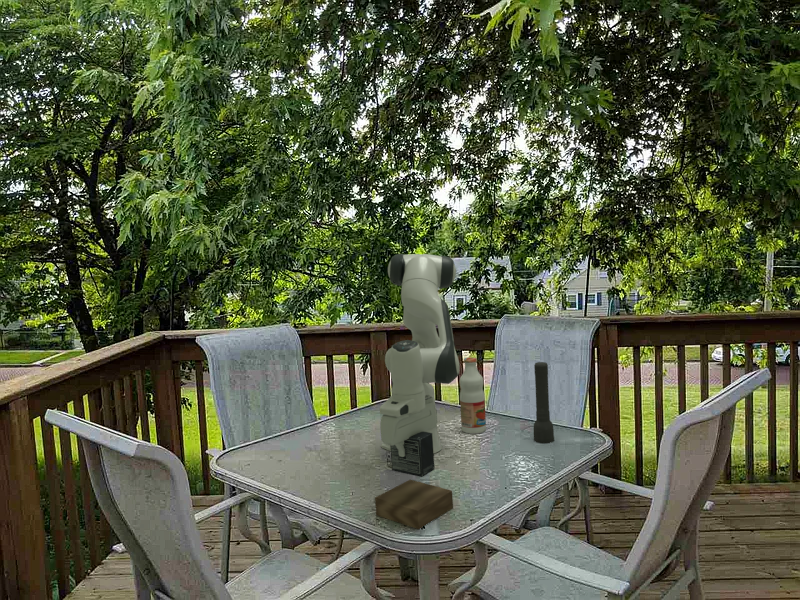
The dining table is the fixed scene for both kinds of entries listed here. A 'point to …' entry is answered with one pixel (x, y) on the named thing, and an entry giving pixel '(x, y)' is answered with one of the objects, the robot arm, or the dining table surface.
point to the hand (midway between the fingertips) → (412, 451)
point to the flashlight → (542, 406)
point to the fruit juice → (472, 399)
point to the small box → (415, 455)
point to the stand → (414, 503)
